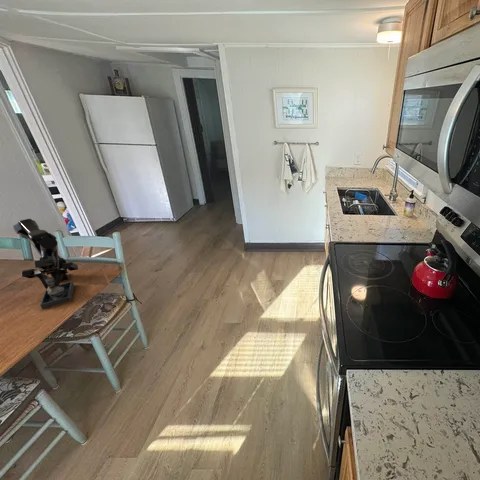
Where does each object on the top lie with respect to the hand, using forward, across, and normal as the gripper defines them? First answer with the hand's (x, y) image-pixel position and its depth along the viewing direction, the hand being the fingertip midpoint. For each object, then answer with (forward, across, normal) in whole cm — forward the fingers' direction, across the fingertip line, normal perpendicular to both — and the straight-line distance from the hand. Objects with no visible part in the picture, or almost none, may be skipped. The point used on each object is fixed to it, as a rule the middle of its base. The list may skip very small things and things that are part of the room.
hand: (51, 287), depth 125 cm
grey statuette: (+4, 0, +6) cm, 7 cm away
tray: (+4, -1, +8) cm, 8 cm away
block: (+1, -3, +9) cm, 10 cm away
